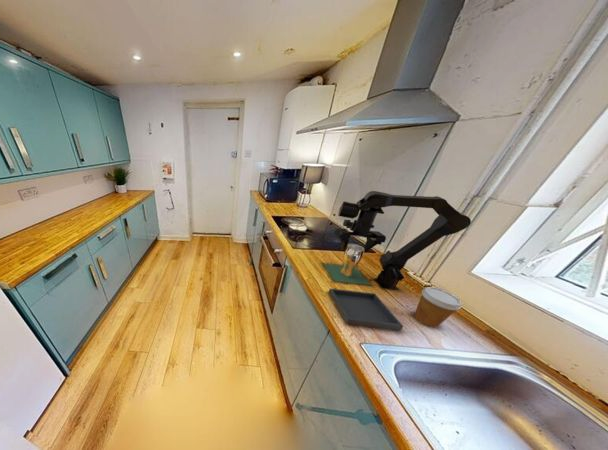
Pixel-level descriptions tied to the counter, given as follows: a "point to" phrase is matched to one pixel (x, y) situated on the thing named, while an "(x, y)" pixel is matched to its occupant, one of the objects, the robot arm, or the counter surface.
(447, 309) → the disposable coffee cup
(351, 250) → the beer glass
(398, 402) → the counter surface
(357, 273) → the drying mat
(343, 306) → the dark grey tray
